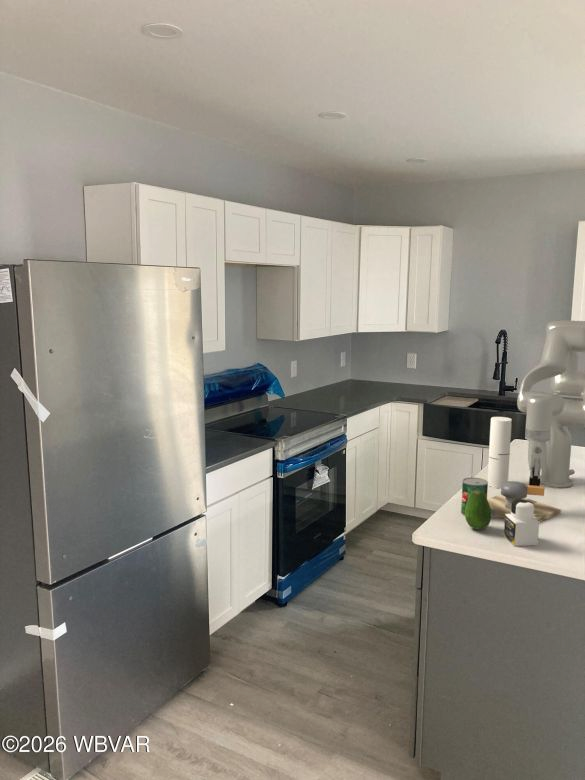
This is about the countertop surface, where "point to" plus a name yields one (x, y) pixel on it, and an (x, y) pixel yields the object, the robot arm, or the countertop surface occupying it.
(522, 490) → the grey paddle
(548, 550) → the countertop surface
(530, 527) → the medicine bottle
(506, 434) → the cylindrical container
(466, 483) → the canned tomato
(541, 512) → the plate
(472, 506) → the avocado
